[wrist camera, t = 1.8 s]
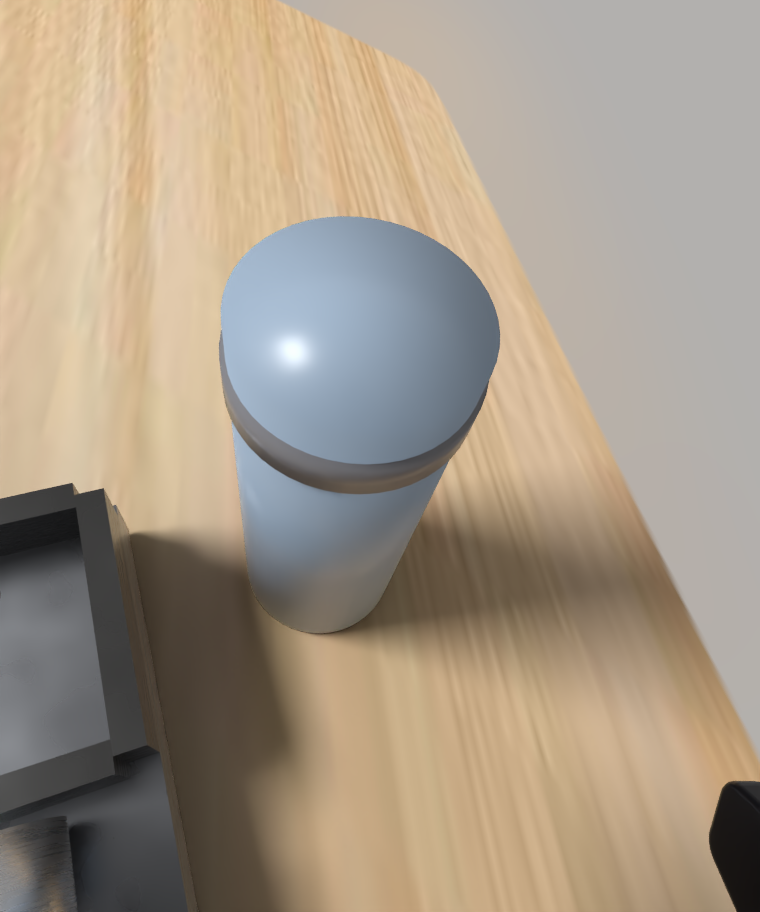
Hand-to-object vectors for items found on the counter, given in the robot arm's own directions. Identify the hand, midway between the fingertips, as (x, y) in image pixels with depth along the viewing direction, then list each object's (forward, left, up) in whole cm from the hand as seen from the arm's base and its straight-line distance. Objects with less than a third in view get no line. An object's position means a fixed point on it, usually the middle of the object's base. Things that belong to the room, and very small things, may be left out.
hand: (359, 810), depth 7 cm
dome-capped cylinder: (+7, -3, -13) cm, 15 cm away
